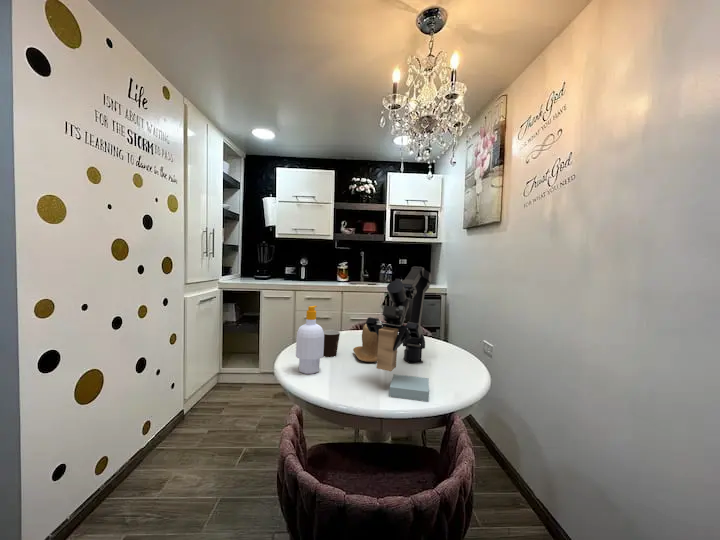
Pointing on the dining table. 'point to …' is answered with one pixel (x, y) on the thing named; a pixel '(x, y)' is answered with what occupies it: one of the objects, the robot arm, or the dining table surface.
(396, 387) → the slate base
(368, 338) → the sandstone flared vase
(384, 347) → the walnut column
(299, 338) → the soap bottle
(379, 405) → the dining table surface
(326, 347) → the coffee mug
